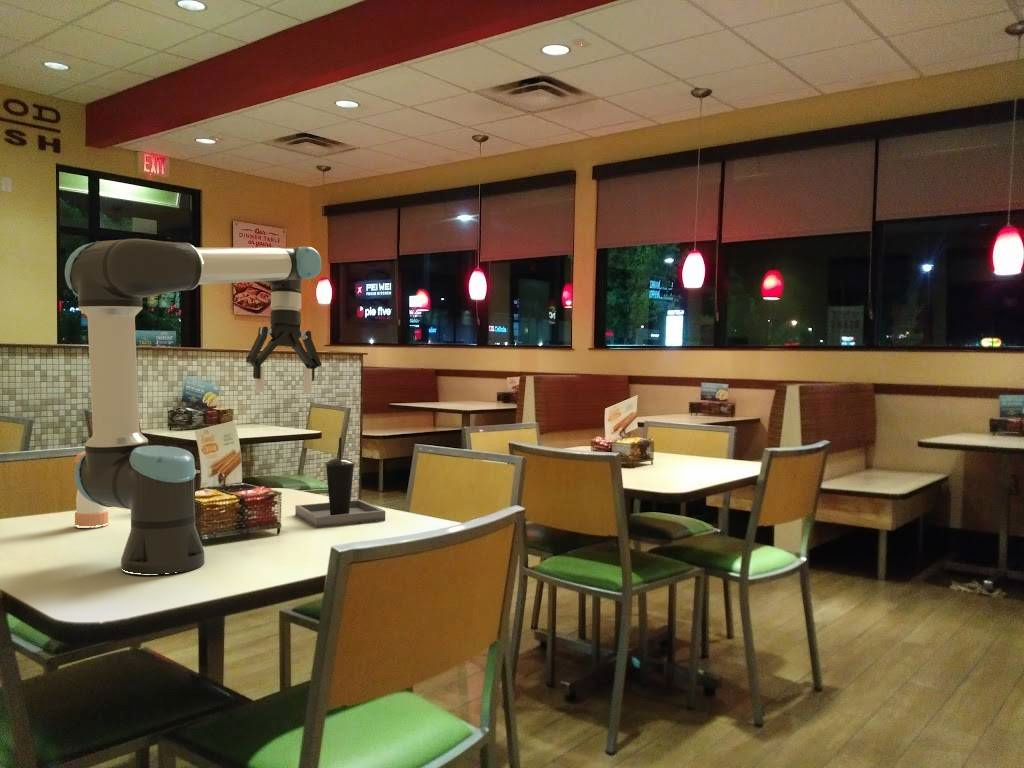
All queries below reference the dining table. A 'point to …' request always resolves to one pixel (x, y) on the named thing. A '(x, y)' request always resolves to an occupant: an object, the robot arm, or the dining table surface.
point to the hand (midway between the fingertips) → (284, 393)
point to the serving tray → (357, 514)
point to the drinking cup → (339, 483)
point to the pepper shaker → (89, 508)
